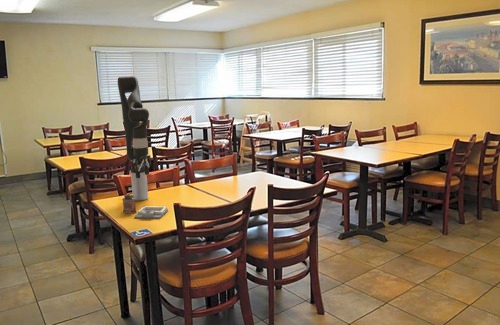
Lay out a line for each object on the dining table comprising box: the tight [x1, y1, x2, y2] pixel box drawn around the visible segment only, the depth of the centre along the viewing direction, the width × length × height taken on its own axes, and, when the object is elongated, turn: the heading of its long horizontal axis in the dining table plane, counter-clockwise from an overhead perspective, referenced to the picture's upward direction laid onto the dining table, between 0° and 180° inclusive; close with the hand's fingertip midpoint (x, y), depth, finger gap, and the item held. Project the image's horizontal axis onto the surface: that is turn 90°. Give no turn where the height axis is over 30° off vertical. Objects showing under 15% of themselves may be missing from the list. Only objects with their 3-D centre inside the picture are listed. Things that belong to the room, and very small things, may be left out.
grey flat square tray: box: [134, 205, 169, 220], centre depth 231 cm, size 14×14×3 cm
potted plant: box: [121, 193, 137, 214], centre depth 236 cm, size 8×3×10 cm, turn 69°
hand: (142, 176), depth 227 cm, fingers open, 8 cm apart
